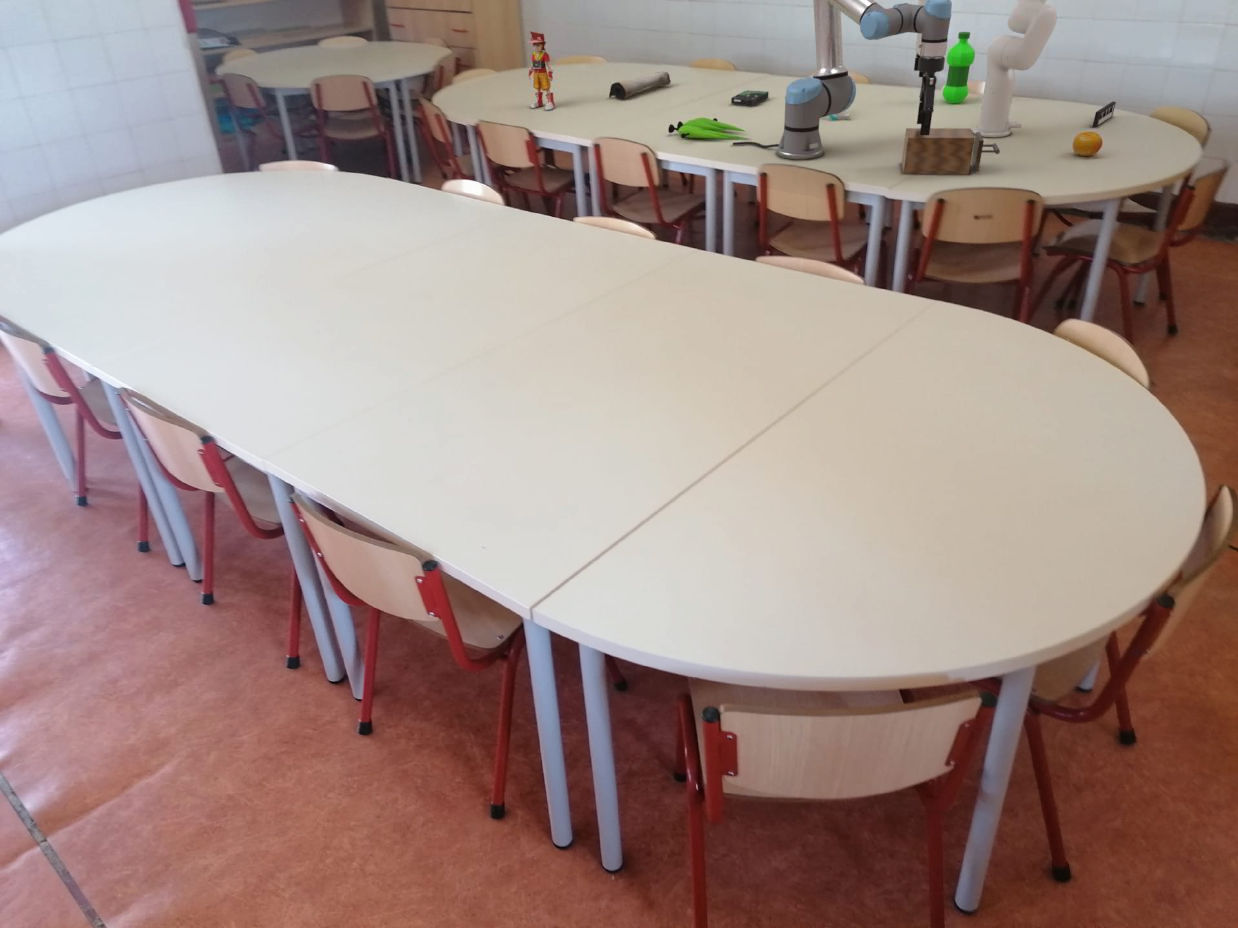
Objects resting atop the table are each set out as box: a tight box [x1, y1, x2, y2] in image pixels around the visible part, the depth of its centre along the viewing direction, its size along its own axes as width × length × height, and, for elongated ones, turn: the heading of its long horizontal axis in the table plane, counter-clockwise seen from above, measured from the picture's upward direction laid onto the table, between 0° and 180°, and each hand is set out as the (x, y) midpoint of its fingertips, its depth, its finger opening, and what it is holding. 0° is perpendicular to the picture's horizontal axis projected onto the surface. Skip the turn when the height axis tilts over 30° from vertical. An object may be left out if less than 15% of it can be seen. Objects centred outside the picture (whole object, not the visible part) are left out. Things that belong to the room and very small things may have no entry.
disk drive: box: [730, 89, 770, 107], centre depth 372 cm, size 10×3×15 cm
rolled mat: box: [608, 71, 672, 101], centre depth 395 cm, size 30×9×10 cm
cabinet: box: [901, 127, 975, 175], centre depth 285 cm, size 20×11×11 cm, turn 78°
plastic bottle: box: [942, 31, 976, 104], centre depth 348 cm, size 10×10×25 cm
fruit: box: [1072, 131, 1103, 157], centre depth 289 cm, size 8×8×8 cm
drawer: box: [970, 132, 1001, 172], centre depth 283 cm, size 24×10×9 cm, turn 78°
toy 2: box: [667, 117, 749, 140], centre depth 332 cm, size 28×5×30 cm
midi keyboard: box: [1092, 101, 1117, 128], centre depth 320 cm, size 18×1×5 cm, turn 138°
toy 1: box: [527, 31, 556, 111], centre depth 374 cm, size 12×9×30 cm
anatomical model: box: [828, 111, 851, 121], centre depth 345 cm, size 15×10×10 cm
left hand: (922, 129), depth 282 cm, fingers open, 13 cm apart
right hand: (921, 73), depth 294 cm, fingers open, 9 cm apart
